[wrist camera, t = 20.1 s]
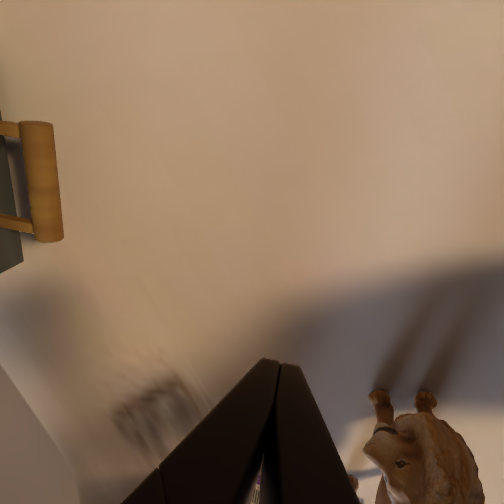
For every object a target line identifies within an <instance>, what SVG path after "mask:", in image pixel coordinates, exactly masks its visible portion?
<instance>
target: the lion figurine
mask: <svg viewBox="0 0 504 504" xmlns="http://www.w3.org/2000/svg"><path fill="white" fill-rule="evenodd" d="M368 397H369V400H370V401H371V403H372V405H373V407H374V410H375V414H376V417H377V424H376V426H375V428H374V432H373V437H372V438H371V439H370V441H368V442H367V443H366V445H365V446H364V448H363V454H364V455H365V456H366V457H367V458H368V459H369V460H370V461H372V462H373V463H374V464H375V465H376V466H377V467H378V468H379V469H380V470H381V471H382V472H383V475H382V478H381V481H380V484H379V486H378V490H377V495H376V501H375V504H484V502H485V496H484V494H483V488H482V484H481V481H480V480H479V478H478V467H477V465H476V462H475V460H474V456H473V454H472V452H471V450H470V449H469V447H468V446H467V445H466V442H465V441H464V439H463V437H462V436H461V435H460V434H459V433H457V432H455V431H454V429H452V428H451V427H450V426H449V425H448V424H447V422H446V421H444V420H439V419H437V418H436V417H435V416H434V415H433V413H432V409H433V408H435V407H436V406H437V400H436V398H435V396H434V395H433V394H432V393H430V392H419V393H417V395H416V397H415V402H414V406H415V408H416V412H417V413H416V414H408V413H407V414H403V415H400V416H399V417H397V418H396V419H395V421H394V419H393V417H394V410H393V406H392V404H391V403H390V396H389V394H388V393H387V392H385V391H383V390H377V391H374V392H372V393H370V394H369V395H368ZM348 477H349V479H350V481H351V483H352V486H353V488H354V490H355V492H356V491H357V489H358V479H357V478H355V477H354V476H350V475H348ZM360 504H362V503H361V502H360Z"/></svg>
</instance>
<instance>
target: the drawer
mask: <svg viewBox="0 0 504 504" xmlns="http://www.w3.org/2000/svg"><path fill="white" fill-rule="evenodd" d="M4 135H5V136H11V137H17V138H21V143H22V150H23V158H24V165H25V172H26V179H27V187H28V194H29V201H30V208H31V216H32V219H27V218H22V217H17V214H16V208H15V201H14V195H13V189H12V182H11V176H10V169H9V163H8V156H7V150H6V144H5V137H4ZM19 231H22V232H27V233H32V234H34V237H35V240H36V241H38V242H41V243H53V242H58V241H60V240H62V239H63V238H64V231H63V221H62V211H61V201H60V191H59V181H58V171H57V161H56V151H55V141H54V131H53V125H52V124H51V123H48V122H41V121H20V122H19V123H14V122H7V121H2V118H1V112H0V273H2V272H4V271H6V270H8V269H10V268H12V267H14V266H16V265H18V264H19V263H21V262H23V261H24V259H23V253H22V246H21V240H20V233H19Z"/></svg>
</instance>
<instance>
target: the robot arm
mask: <svg viewBox="0 0 504 504" xmlns="http://www.w3.org/2000/svg"><path fill="white" fill-rule="evenodd" d="M263 454H264V455H263ZM262 459H263V462H262ZM261 464H262V468H261ZM260 469H261V478H260V491H259V504H360V501H359V499H358V497H357V495H356V492H355V490H354V488H353V486H352V483H351V481H350V479H349V477H348V474H347V472H346V470H345V467H344V465H343V463H342V461H341V458H340V456H339V454H338V452H337V449H336V447H335V445H334V442H333V440H332V438H331V436H330V433H329V431H328V429H327V427H326V424H325V422H324V420H323V418H322V415H321V413H320V411H319V408H318V406H317V404H316V402H315V399H314V397H313V395H312V393H311V390H310V388H309V386H308V383H307V381H306V379H305V377H304V374H303V372H302V370H301V368H300V367H299V366H297V365H293V364H289V363H284V362H283V363H281V365H280V362H279V361H276V360H271V359H267V358H262V359H261V360H259V361H258V363H257V364H256V365H255V366H254V367H253V368H252V369H251V370H250V371H249V372H248V373H247V374H246V375H245V376H244V377H243V378H242V379H241V380H240V381H239V382H238V383H237V384H236V385H235V386H234V387H233V389H232V390H231V391H230V392H229V393H228V394H227V395H226V396H225V397H224V398H223V399H222V400H221V401H220V402H219V403H218V404H217V405H216V406H215V407H214V408H213V409H212V410H211V411H210V412H209V414H208V415H207V416H206V417H205V418H204V419H203V420H202V421H201V422H200V423H199V424H198V425H197V426H196V427H195V428H194V429H193V430H192V431H191V432H190V433H189V434H188V435H187V436H186V437H185V439H184V440H183V441H182V442H181V443H180V444H179V445H178V446H177V447H176V448H175V449H174V450H173V451H172V452H171V453H170V454H169V455H168V456H167V457H166V458H165V459H164V460H163V461H162V462H161V464H160V465H159V469H158V468H156V469H154V471H153V472H152V473H151V474H150V475H149V476H148V477H147V478H146V479H145V480H144V481H143V482H142V483H141V484H140V485H139V486H138V487H137V488H136V489H135V490H134V491H133V492H132V493H131V494H130V495H129V496H128V497H127V498H126V499H125V500H124V501H123V502H122V503H121V504H250V503H251V500H252V497H253V494H254V490H255V487H256V484H257V480H258V476H259V473H260Z"/></svg>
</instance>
